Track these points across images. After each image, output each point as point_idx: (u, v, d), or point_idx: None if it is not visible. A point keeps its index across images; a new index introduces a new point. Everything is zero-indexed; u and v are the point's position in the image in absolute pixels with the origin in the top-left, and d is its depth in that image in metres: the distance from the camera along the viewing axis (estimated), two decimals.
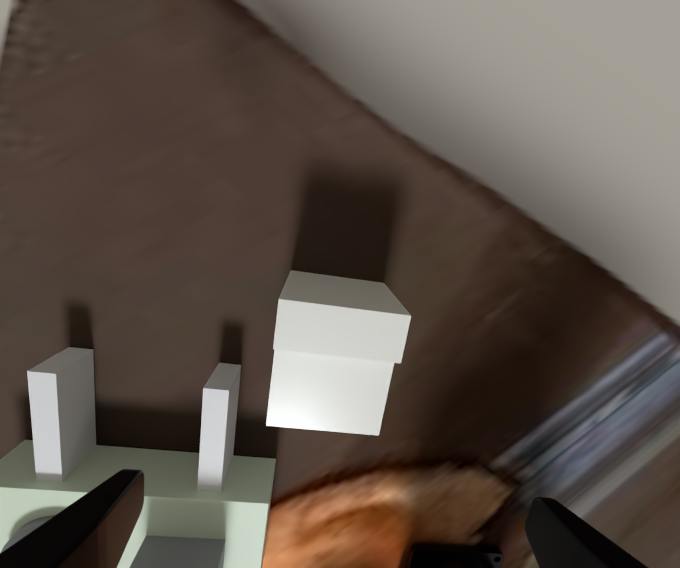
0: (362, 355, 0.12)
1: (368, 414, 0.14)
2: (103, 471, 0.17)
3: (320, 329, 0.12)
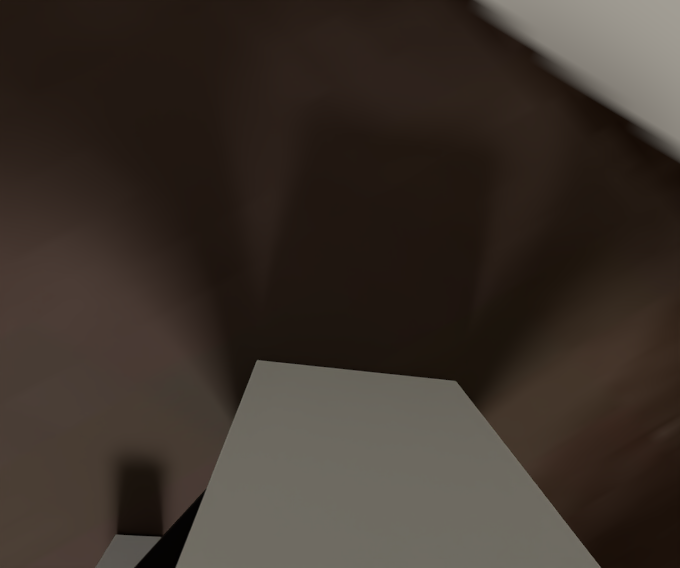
0: None
1: None
2: None
3: None
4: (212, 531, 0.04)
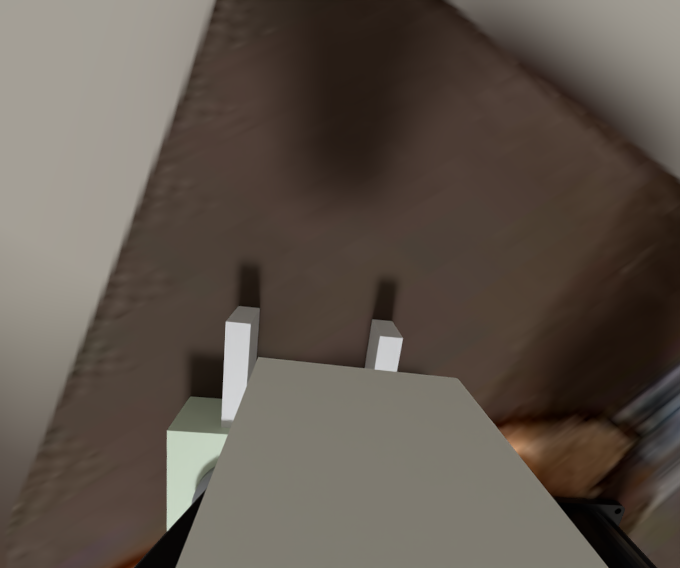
0: None
1: None
2: None
3: None
4: (214, 526, 0.04)
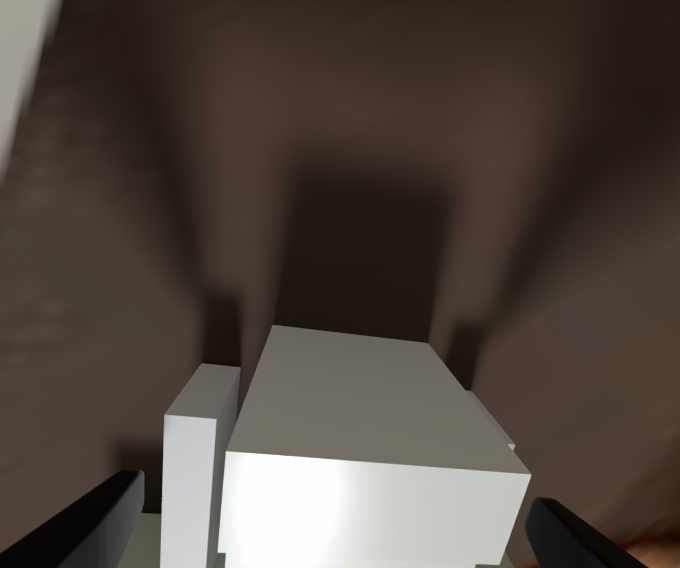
0: (418, 554, 0.06)
1: None
2: None
3: (325, 509, 0.05)
4: (256, 404, 0.06)
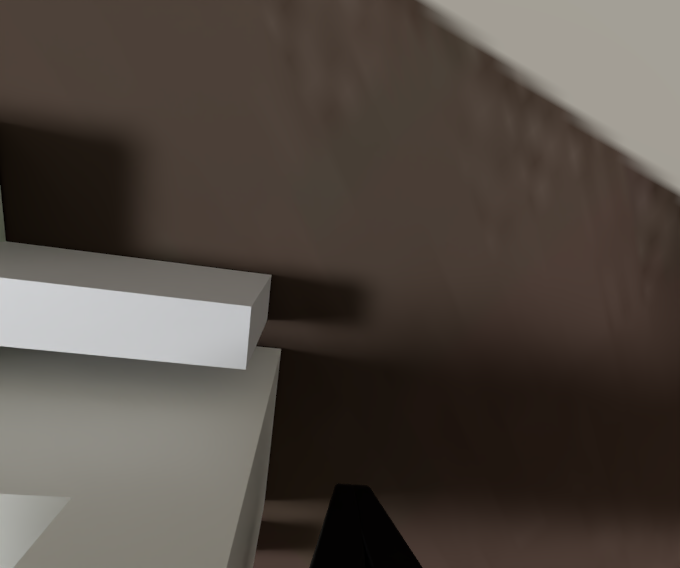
0: None
1: None
2: None
3: None
4: (246, 494, 0.04)
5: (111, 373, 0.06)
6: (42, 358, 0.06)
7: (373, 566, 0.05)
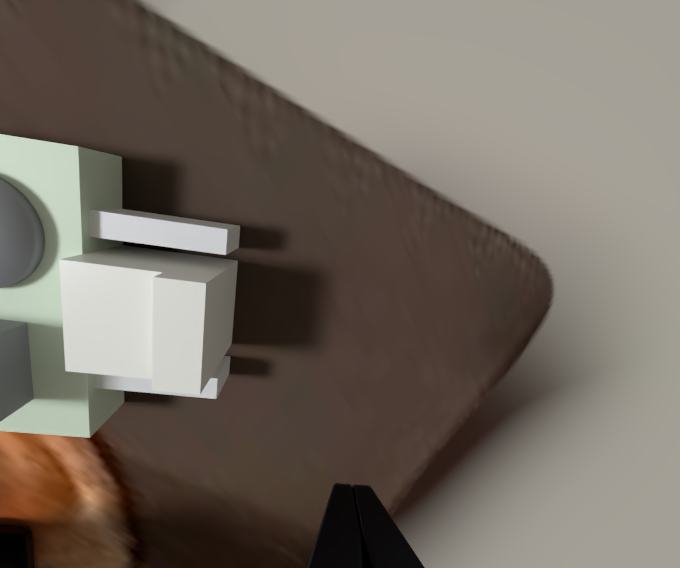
0: (156, 357, 0.13)
1: (89, 360, 0.14)
2: None
3: (178, 319, 0.13)
4: (215, 282, 0.14)
5: (164, 258, 0.16)
6: (135, 252, 0.16)
7: (375, 566, 0.05)
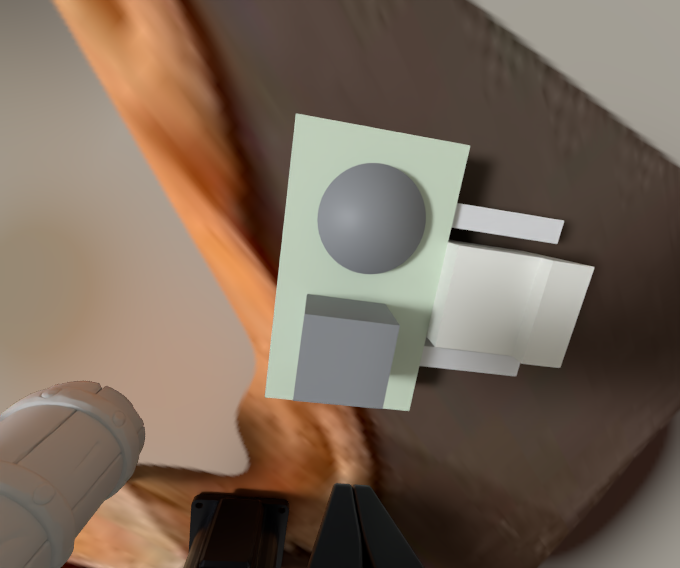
0: (533, 333, 0.15)
1: (457, 337, 0.16)
2: None
3: (562, 299, 0.15)
4: None
5: None
6: (459, 242, 0.17)
7: (375, 566, 0.05)
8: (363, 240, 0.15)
